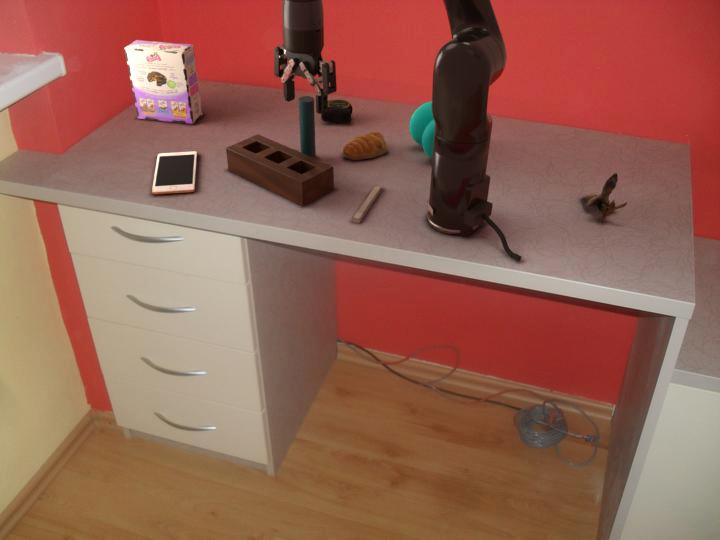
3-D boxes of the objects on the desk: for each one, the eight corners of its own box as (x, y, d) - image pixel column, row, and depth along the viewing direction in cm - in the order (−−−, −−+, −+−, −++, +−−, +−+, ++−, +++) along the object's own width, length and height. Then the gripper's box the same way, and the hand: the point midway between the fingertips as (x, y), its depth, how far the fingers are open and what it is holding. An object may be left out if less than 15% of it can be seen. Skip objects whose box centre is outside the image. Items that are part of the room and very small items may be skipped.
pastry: (355, 166, 142) (355, 148, 140) (335, 154, 146) (334, 137, 144) (390, 153, 147) (390, 136, 145) (369, 142, 151) (370, 125, 149)
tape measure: (320, 125, 158) (320, 109, 155) (324, 113, 163) (324, 97, 161) (350, 126, 157) (350, 111, 155) (354, 114, 163) (354, 99, 160)
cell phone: (152, 194, 132) (151, 192, 131) (158, 156, 144) (157, 153, 144) (194, 192, 133) (194, 189, 132) (197, 153, 145) (196, 151, 145)
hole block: (259, 156, 145) (257, 133, 142) (333, 189, 134) (333, 166, 131) (228, 170, 140) (225, 147, 137) (303, 206, 129) (301, 182, 126)
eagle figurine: (635, 218, 125) (624, 185, 131) (621, 191, 120) (611, 159, 127) (592, 234, 128) (584, 201, 134) (578, 208, 124) (571, 176, 130)
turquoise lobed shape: (449, 139, 152) (453, 95, 146) (468, 160, 145) (473, 114, 139) (406, 145, 150) (408, 101, 144) (423, 166, 142) (426, 120, 136)
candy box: (203, 114, 162) (194, 43, 152) (193, 125, 157) (183, 52, 147) (148, 108, 164) (136, 38, 154) (136, 118, 159) (122, 46, 150)
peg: (318, 159, 144) (317, 98, 137) (308, 164, 143) (306, 103, 135) (308, 154, 146) (306, 94, 138) (298, 159, 144) (295, 99, 137)
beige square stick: (375, 189, 135) (375, 185, 134) (381, 190, 134) (381, 186, 134) (353, 222, 125) (353, 217, 125) (359, 223, 125) (359, 218, 124)
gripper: (261, 18, 129) (266, 102, 139) (317, 35, 122) (318, 122, 132) (290, 9, 134) (293, 91, 144) (346, 26, 127) (345, 110, 136)
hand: (305, 106), depth 138 cm, fingers open, 8 cm apart
